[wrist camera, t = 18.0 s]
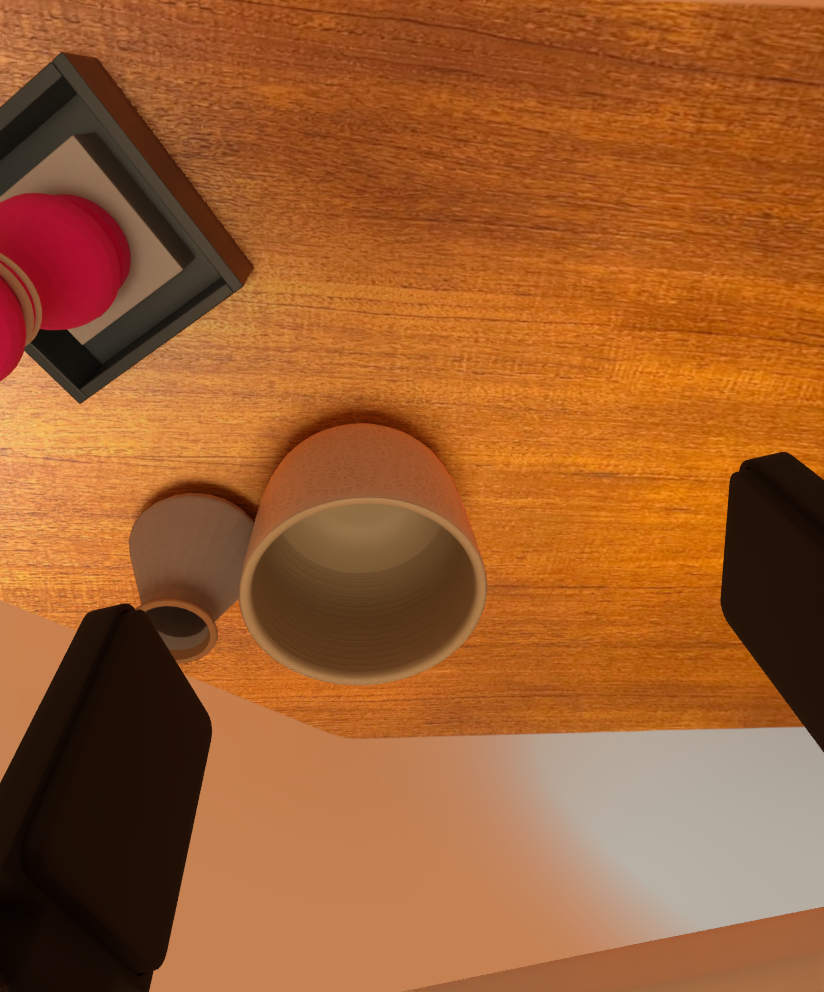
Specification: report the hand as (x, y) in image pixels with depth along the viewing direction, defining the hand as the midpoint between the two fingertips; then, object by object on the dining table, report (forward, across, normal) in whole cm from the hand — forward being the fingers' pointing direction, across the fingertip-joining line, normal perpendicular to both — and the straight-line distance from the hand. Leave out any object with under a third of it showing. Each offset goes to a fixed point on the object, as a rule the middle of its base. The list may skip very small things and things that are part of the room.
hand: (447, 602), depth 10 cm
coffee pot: (+40, +23, +27) cm, 54 cm away
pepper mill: (+36, +18, -3) cm, 40 cm away
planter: (+40, +6, +21) cm, 46 cm away
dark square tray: (+40, +18, -3) cm, 44 cm away
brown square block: (+40, +18, -3) cm, 44 cm away
